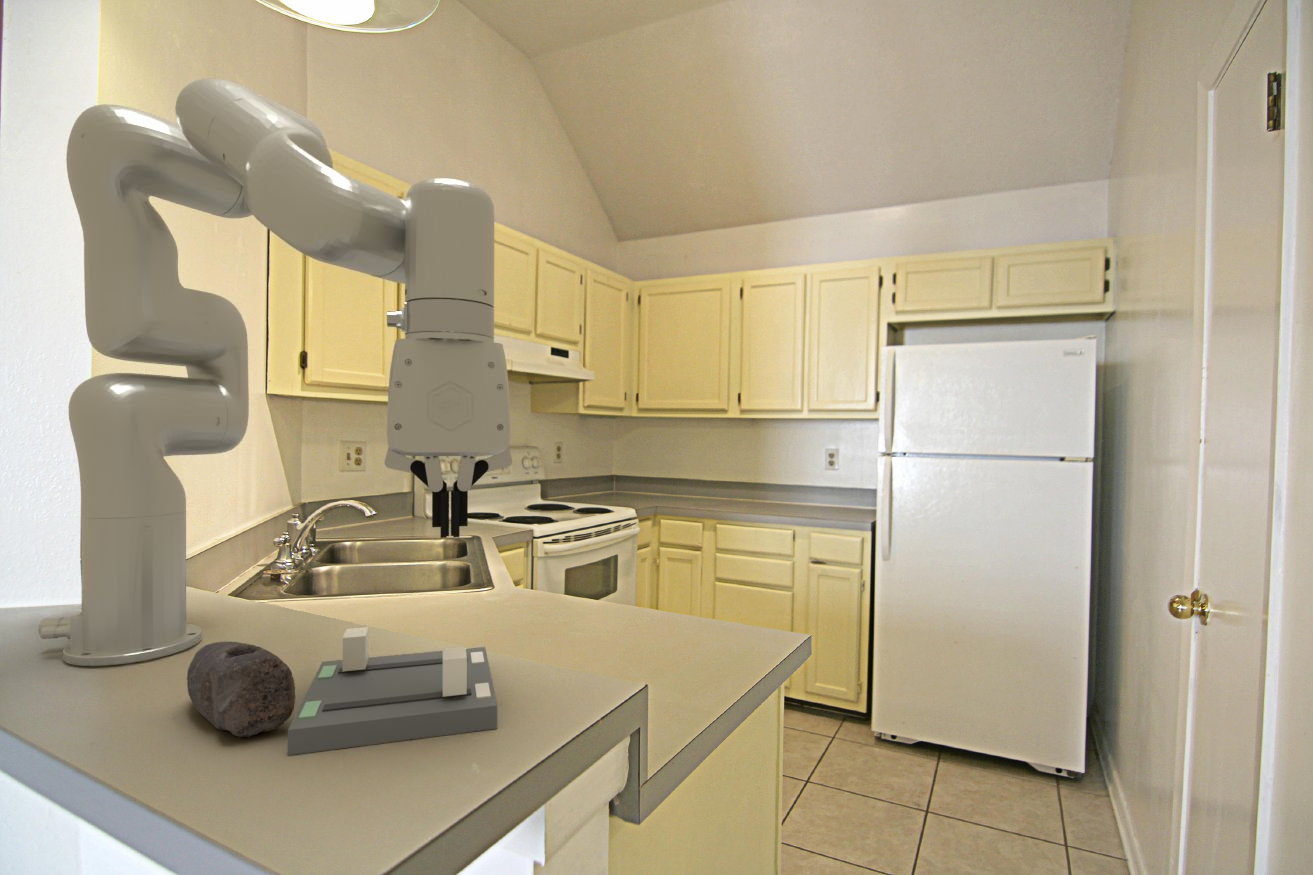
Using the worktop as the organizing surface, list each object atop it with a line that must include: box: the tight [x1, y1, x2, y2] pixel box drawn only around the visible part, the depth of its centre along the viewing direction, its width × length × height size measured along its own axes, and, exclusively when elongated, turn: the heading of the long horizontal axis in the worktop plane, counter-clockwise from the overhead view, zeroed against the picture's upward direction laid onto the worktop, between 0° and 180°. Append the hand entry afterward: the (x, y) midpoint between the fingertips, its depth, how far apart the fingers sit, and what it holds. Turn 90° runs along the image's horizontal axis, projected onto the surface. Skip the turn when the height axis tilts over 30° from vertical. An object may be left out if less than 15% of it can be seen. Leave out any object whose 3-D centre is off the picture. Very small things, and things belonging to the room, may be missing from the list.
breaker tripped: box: [442, 646, 467, 697], centre depth 59 cm, size 2×3×3 cm, turn 18°
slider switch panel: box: [287, 646, 498, 756], centre depth 62 cm, size 16×16×2 cm
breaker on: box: [342, 626, 370, 671], centre depth 65 cm, size 2×3×3 cm, turn 18°
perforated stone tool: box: [186, 641, 296, 737], centre depth 59 cm, size 15×5×7 cm, turn 52°
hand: (449, 534), depth 59 cm, fingers closed
